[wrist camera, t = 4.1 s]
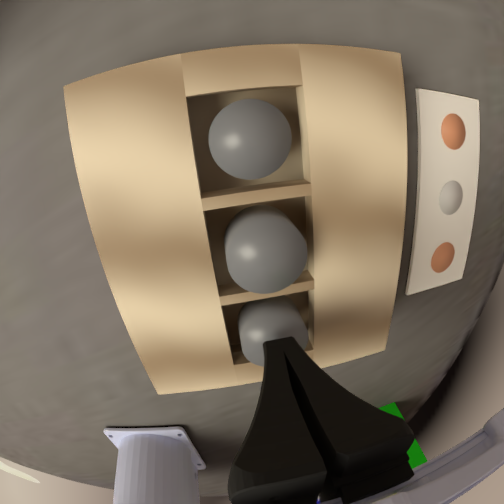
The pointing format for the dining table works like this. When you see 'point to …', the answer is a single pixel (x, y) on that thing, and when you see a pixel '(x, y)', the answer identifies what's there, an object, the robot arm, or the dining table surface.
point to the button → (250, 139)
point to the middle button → (264, 249)
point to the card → (444, 188)
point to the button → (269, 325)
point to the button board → (243, 199)
